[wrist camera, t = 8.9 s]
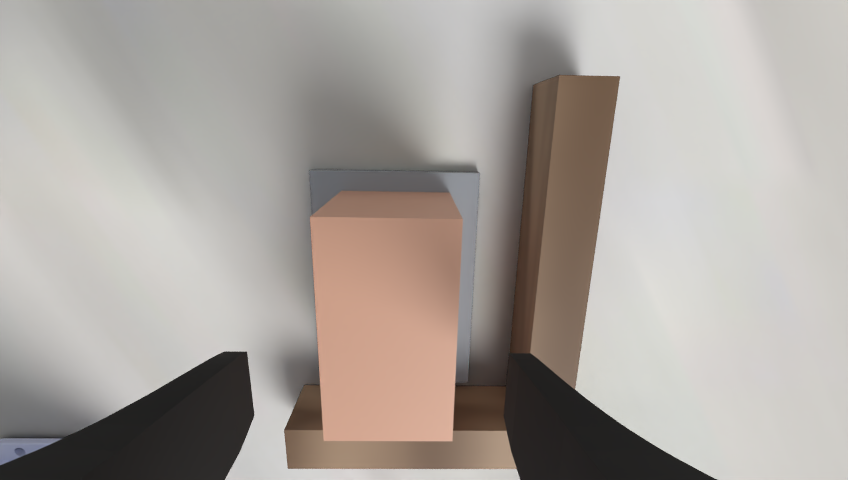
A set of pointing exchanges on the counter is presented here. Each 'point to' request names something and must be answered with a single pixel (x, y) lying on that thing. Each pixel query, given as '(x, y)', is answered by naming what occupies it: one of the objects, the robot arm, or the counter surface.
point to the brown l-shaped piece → (534, 292)
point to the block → (387, 314)
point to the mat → (455, 183)
